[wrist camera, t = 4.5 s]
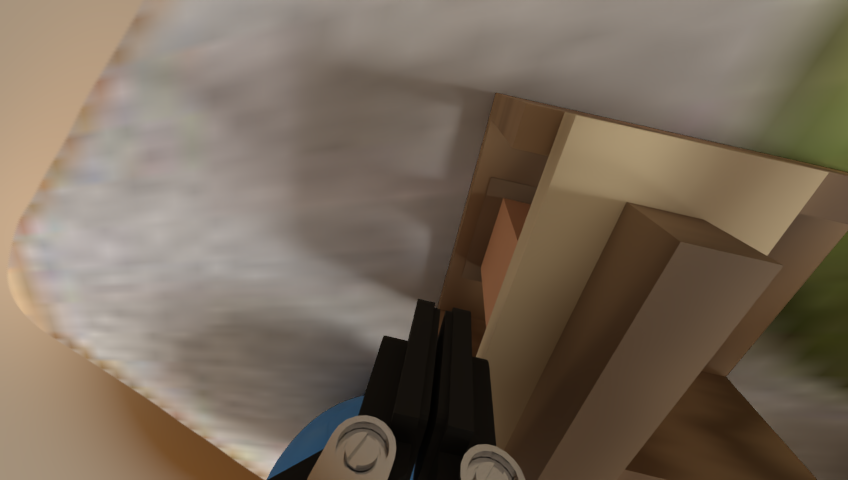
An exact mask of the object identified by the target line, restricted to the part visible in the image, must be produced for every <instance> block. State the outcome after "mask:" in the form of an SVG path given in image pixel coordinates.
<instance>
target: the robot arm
mask: <svg viewBox="0 0 848 480" xmlns="http://www.w3.org/2000/svg"><path fill="white" fill-rule="evenodd" d="M434 306H435V303H433V302H429V301H425V300H421V299H418V301H417V305H416V309H415V314H414V318H413V322H412V326H411V331H410V335H409V339H408V341H406V340H401V339H397V338H393V337H389V336H384V337H383V339H382V342H381V345H380V349H379V352H378V355H377V358H376V361H375V364H374V367H373V370H372V373H371V377H370V380H369V383H368V386H367V389H366V392H365V395H364V398H363V402H362V405H361V408H360V411H359V414H358V416H355V417H352V418H349V419H347V420H345V421H344V422H342V423H341V424H340V425H338V427H337V428H336V429H335V431H334V432H333V433H332V435H331V437H330V438H329V440H328V442H327V444H326V446H325V447H324V449H322V450H321V451H319V452H317V453H315V454H313V455H312V456H310V457H308V458H306V459H304V460H302V461H301V462H299V463H297V464H295V465H293V466H292V467H290V468H288V469H286V470H284V471H283V472H281V473H279V474H277V475H275V476H273V477H272V478H270V479H268V480H410V478H411V474H412V471H413V468H414V475H413V480H525V478H524V475H523V473H522V470H521V468H520V467H519V466H518V464H517V463H516V461H515V460H514V459H513V458H512V457H511V456H510V455H509V454H508V453H507V452H505V451H504V450H502V449H500V448H498V447H496V437H495V425H494V414H493V402H492V391H491V379H490V367H489V362H488V360H486V359H482V358H478V357H473V356H472V331H471V312H470V311H468V310H463V309H459V308H455V307H453V309H452V311H447V310H446V311H445V313H444V317H443V320H442V324H441V327H440V331H439V334H438V329H439V320H440V310H441V309H438V308H434ZM414 465H415V467H414Z"/></svg>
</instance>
